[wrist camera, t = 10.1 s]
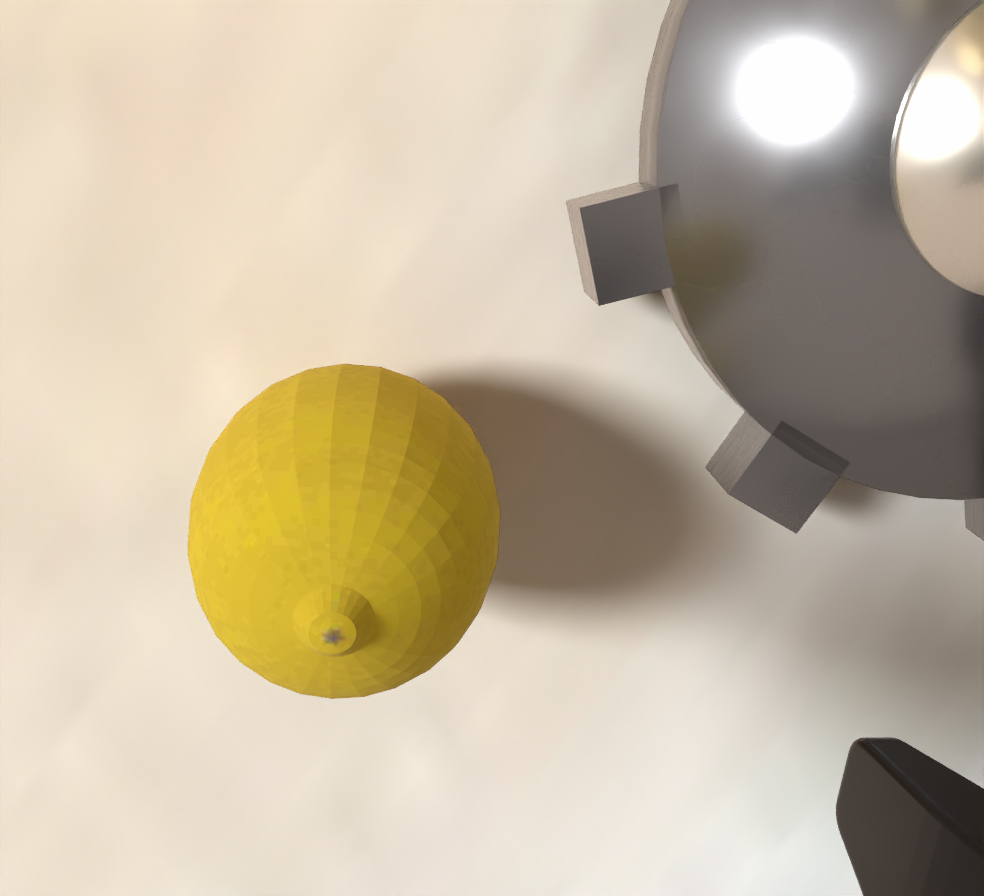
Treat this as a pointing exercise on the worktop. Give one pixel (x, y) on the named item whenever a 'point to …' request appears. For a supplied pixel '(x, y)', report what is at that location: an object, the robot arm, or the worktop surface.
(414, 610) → the lemon
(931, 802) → the robot arm
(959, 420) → the sprocket
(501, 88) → the worktop surface
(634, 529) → the worktop surface
